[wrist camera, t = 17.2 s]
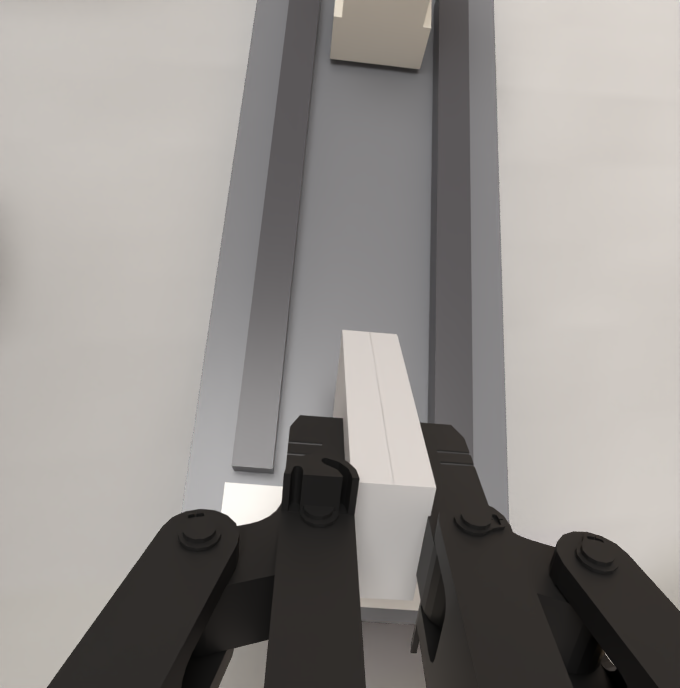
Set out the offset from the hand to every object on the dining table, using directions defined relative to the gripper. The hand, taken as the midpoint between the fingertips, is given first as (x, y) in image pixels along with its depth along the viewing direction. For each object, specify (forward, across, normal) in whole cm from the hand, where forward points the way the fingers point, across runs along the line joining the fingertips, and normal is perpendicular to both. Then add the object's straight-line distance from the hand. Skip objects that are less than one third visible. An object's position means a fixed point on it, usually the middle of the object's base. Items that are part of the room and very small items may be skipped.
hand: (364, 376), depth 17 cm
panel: (+9, 0, +2) cm, 9 cm away
